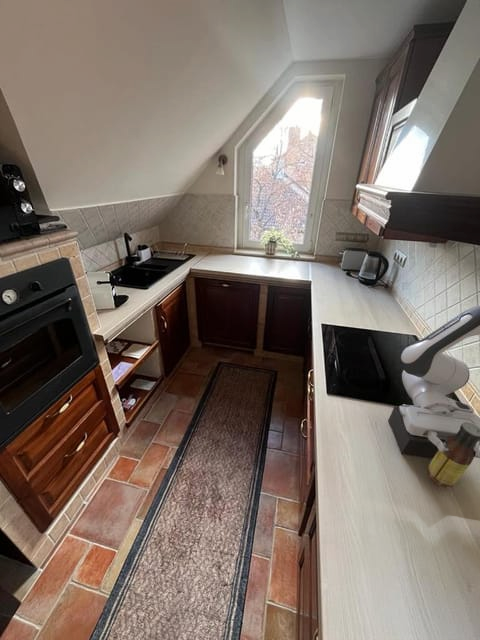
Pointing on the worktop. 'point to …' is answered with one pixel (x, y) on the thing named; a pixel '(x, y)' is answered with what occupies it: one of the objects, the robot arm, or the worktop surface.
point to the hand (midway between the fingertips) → (461, 453)
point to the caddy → (410, 438)
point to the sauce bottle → (455, 456)
